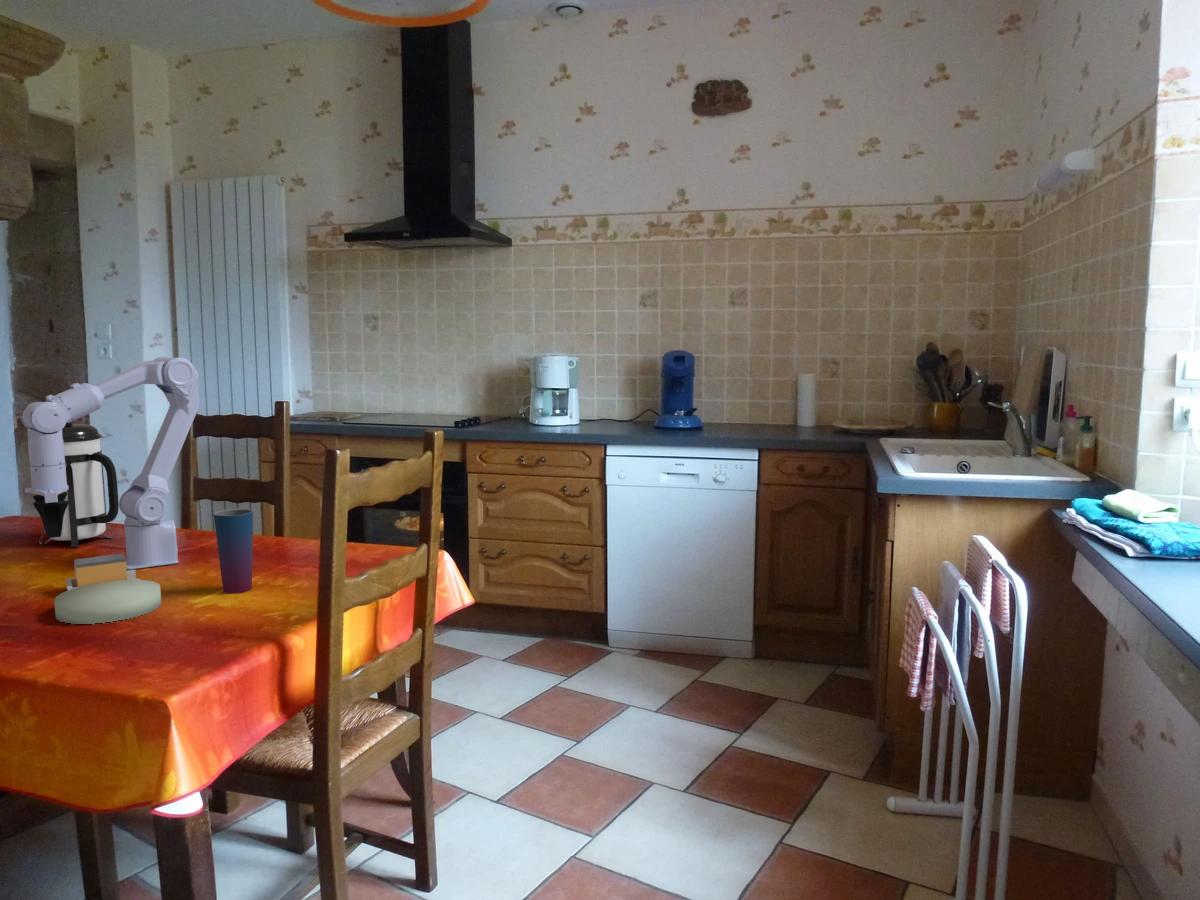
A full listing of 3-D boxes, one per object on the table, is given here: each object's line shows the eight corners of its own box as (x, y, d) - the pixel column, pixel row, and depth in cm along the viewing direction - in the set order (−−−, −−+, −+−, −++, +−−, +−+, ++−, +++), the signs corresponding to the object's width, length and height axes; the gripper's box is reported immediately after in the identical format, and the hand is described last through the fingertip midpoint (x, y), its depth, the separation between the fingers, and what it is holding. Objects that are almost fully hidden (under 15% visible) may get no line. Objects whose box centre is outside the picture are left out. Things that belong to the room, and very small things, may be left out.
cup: (219, 596, 154) (214, 517, 152) (217, 587, 160) (212, 510, 158) (258, 592, 157) (254, 513, 155) (255, 582, 163) (251, 507, 161)
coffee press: (31, 553, 185) (19, 417, 181) (46, 537, 199) (35, 411, 195) (121, 545, 191) (111, 415, 187) (129, 530, 206) (120, 409, 202)
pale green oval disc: (148, 577, 166) (147, 563, 166) (167, 613, 145) (166, 596, 144) (52, 591, 157) (51, 575, 157) (57, 631, 136) (55, 613, 135)
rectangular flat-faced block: (124, 583, 162) (122, 553, 161) (128, 589, 159) (125, 558, 158) (76, 591, 158) (73, 559, 157) (78, 597, 154) (76, 564, 153)
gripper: (22, 461, 165) (28, 528, 167) (22, 471, 153) (29, 543, 155) (64, 458, 169) (70, 524, 170) (68, 467, 157) (73, 538, 159)
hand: (53, 533), depth 163 cm, fingers open, 7 cm apart
